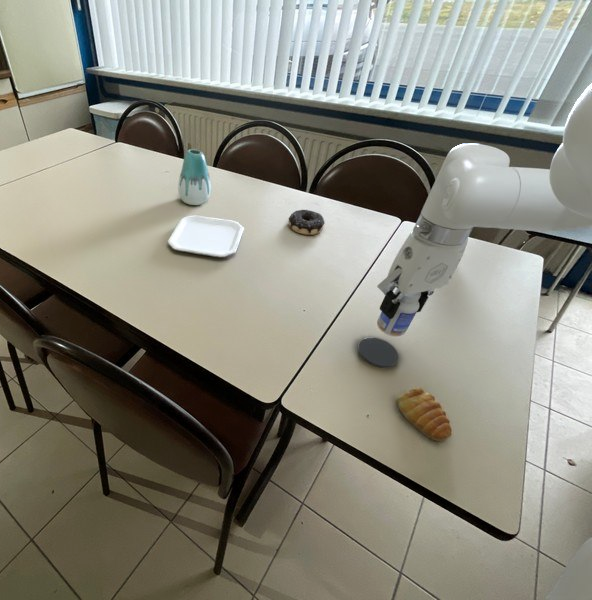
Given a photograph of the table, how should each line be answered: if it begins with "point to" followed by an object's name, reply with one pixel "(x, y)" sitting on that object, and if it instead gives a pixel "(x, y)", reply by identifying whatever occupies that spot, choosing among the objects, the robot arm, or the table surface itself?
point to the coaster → (378, 352)
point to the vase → (194, 179)
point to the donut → (306, 222)
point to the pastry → (425, 413)
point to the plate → (206, 236)
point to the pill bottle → (400, 315)
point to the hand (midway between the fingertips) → (399, 310)
